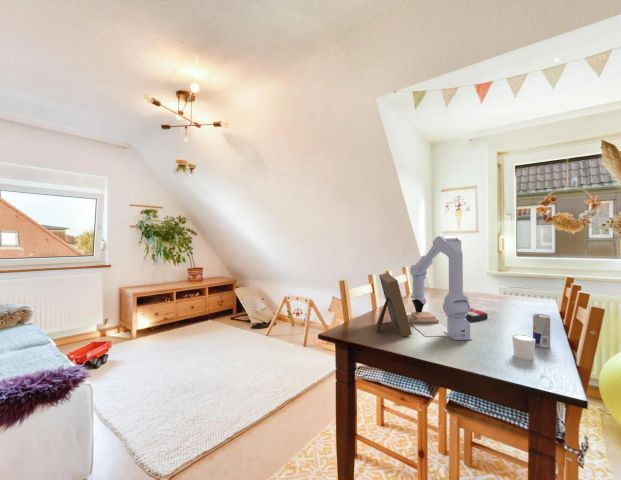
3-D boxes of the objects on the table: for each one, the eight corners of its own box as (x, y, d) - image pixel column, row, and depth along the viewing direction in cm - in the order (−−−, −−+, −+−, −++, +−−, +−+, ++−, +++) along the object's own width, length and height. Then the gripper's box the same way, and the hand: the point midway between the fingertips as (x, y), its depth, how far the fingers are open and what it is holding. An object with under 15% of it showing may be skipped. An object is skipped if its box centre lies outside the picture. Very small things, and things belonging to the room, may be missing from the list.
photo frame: (399, 321, 148) (398, 272, 147) (411, 336, 126) (410, 279, 126) (370, 321, 149) (369, 273, 148) (377, 337, 127) (375, 280, 127)
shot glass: (525, 352, 109) (525, 333, 109) (540, 360, 102) (540, 340, 102) (507, 352, 108) (507, 334, 108) (521, 361, 102) (521, 341, 101)
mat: (457, 336, 126) (457, 335, 126) (425, 336, 126) (425, 336, 126) (440, 324, 142) (440, 323, 142) (411, 324, 142) (411, 324, 142)
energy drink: (533, 342, 118) (533, 312, 118) (550, 345, 115) (550, 315, 114) (532, 346, 114) (532, 316, 114) (550, 349, 111) (550, 318, 110)
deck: (438, 323, 143) (438, 319, 143) (412, 324, 143) (412, 320, 143) (425, 315, 158) (425, 311, 158) (402, 315, 158) (402, 312, 158)
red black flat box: (473, 315, 145) (448, 307, 158) (473, 324, 145) (448, 314, 159) (488, 312, 149) (462, 304, 163) (487, 320, 149) (462, 312, 163)
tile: (435, 320, 142) (435, 316, 142) (417, 321, 142) (417, 317, 142) (428, 315, 150) (428, 312, 150) (411, 316, 150) (411, 312, 150)
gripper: (406, 285, 158) (406, 310, 158) (416, 291, 144) (416, 318, 144) (418, 285, 158) (419, 310, 159) (430, 290, 144) (430, 317, 144)
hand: (418, 314), depth 151 cm, fingers closed
